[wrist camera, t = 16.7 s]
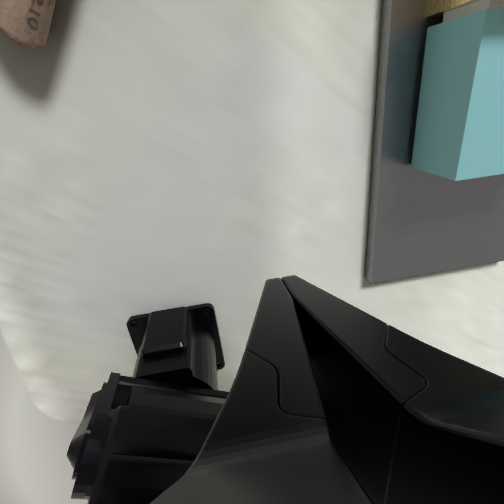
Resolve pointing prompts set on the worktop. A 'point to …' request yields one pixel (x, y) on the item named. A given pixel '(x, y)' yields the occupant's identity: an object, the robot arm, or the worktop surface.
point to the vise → (420, 172)
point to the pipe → (27, 21)
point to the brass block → (444, 6)
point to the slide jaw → (463, 95)
